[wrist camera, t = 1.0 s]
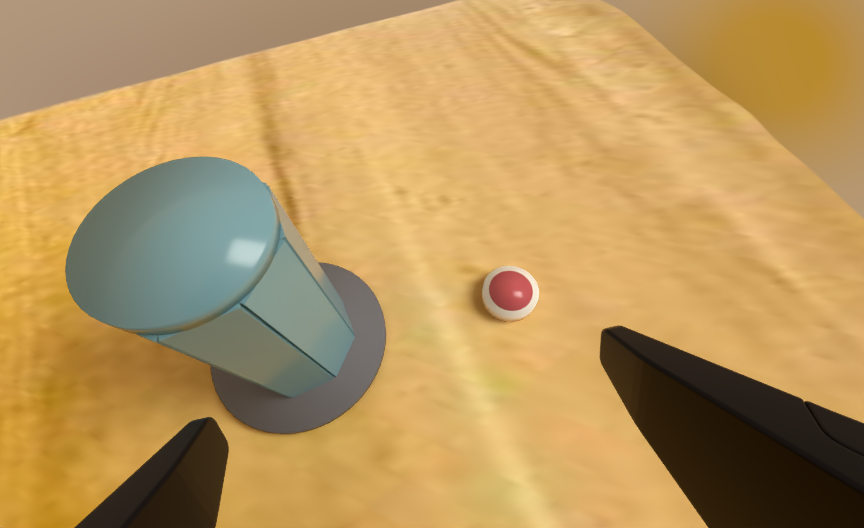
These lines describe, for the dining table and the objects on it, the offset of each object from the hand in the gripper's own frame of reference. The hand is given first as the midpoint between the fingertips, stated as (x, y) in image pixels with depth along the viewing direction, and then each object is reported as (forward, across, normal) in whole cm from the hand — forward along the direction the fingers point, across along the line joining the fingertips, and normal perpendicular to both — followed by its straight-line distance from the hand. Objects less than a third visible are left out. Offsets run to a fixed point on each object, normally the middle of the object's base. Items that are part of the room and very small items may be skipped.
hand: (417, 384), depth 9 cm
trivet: (+14, +7, +8) cm, 18 cm away
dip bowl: (+15, -7, +8) cm, 18 cm away
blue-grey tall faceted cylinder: (+14, +7, +7) cm, 18 cm away
